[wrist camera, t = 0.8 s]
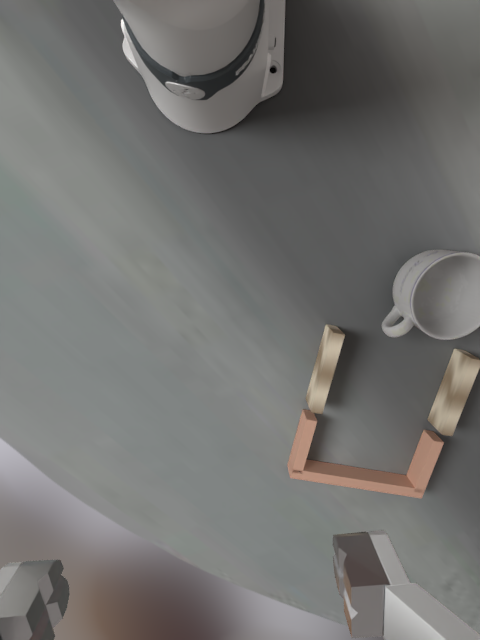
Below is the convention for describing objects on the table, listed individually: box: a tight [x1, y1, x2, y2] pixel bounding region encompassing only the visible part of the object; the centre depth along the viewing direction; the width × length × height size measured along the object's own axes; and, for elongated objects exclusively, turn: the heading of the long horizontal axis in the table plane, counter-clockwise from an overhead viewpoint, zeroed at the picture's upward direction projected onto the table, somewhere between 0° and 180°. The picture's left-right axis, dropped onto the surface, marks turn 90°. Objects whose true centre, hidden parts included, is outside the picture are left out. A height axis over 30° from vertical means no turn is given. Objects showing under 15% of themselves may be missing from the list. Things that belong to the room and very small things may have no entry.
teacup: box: [382, 250, 480, 340], centre depth 47 cm, size 14×11×8 cm
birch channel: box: [306, 324, 480, 436], centre depth 52 cm, size 12×21×4 cm, turn 79°
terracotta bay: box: [288, 409, 444, 498], centre depth 56 cm, size 10×21×3 cm, turn 79°
